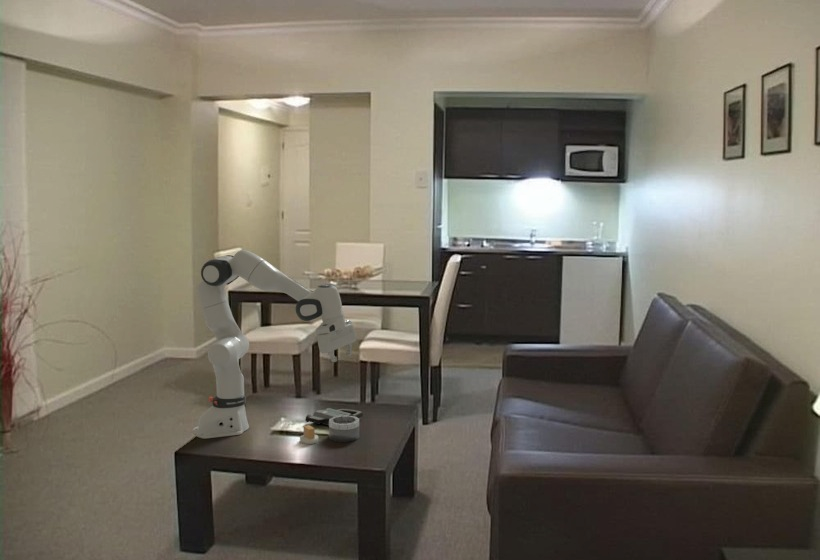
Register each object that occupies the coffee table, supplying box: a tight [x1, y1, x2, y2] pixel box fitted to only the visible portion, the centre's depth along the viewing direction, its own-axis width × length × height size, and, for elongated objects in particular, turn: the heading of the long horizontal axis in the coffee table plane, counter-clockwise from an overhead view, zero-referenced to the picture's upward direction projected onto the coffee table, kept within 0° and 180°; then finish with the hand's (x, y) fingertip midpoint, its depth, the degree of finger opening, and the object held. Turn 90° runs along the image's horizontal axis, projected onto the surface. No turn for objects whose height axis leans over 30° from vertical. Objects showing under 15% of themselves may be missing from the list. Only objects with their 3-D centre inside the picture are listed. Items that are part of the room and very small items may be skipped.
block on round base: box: [299, 424, 319, 445], centre depth 297 cm, size 7×7×6 cm
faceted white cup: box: [328, 415, 360, 443], centre depth 302 cm, size 12×12×7 cm
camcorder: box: [305, 407, 364, 426], centre depth 321 cm, size 16×20×5 cm
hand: (341, 358), depth 298 cm, fingers open, 8 cm apart
